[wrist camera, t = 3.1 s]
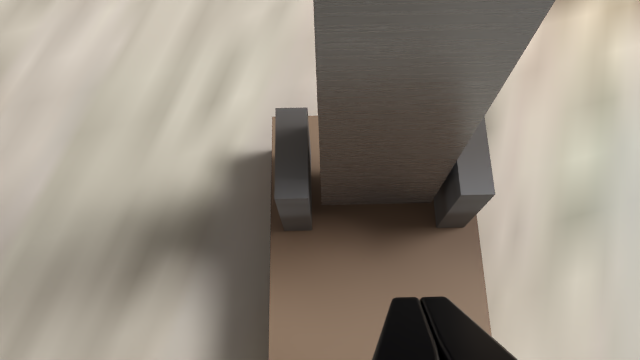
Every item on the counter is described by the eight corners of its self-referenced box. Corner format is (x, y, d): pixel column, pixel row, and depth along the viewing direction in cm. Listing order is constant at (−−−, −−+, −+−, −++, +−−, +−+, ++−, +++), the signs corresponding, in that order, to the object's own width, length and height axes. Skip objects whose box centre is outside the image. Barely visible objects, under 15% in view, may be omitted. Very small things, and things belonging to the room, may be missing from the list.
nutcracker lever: (432, 222, 14) (809, -311, 3) (322, 224, 14) (299, -298, 3) (424, 134, 15) (693, -524, 4) (320, 136, 15) (299, -510, 4)
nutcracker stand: (472, 384, 16) (542, 391, 11) (276, 388, 16) (252, 396, 11) (446, 145, 19) (491, 58, 14) (279, 148, 19) (260, 64, 14)
